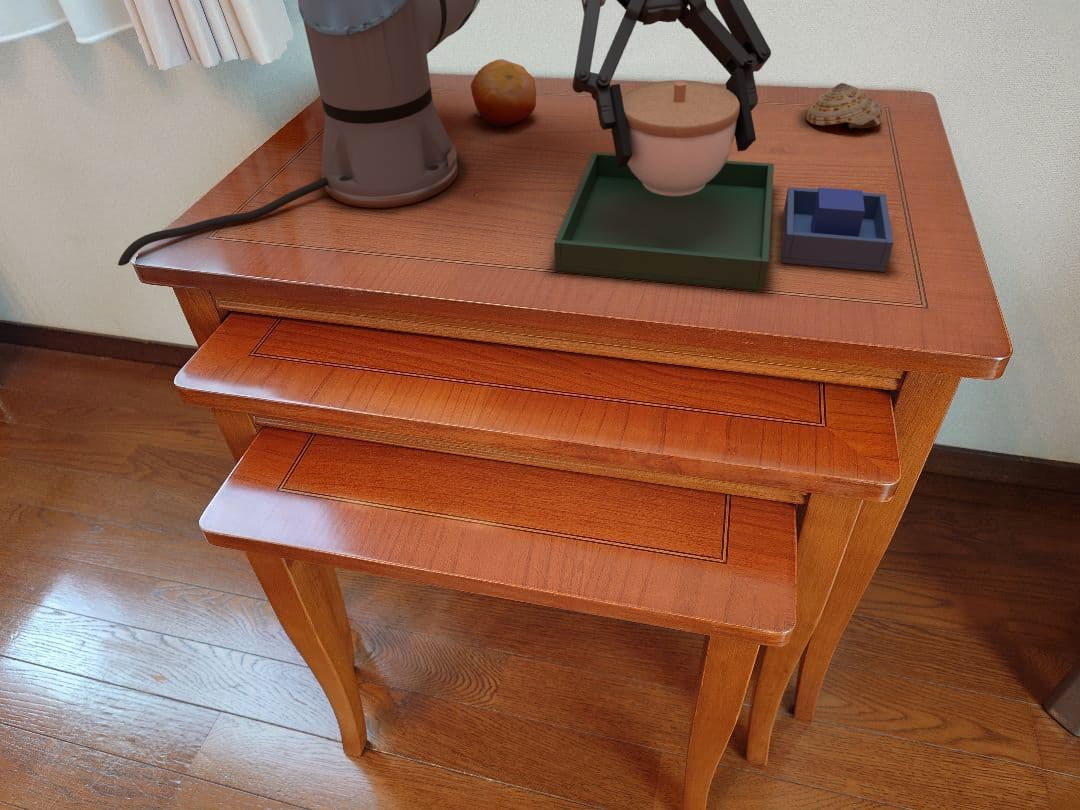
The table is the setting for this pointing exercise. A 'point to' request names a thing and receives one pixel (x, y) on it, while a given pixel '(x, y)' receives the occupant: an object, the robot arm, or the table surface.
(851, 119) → the seashell
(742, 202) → the green tray
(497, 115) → the fruit
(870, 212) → the blue tray
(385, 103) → the robot arm
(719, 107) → the trinket box
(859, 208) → the blue block
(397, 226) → the table surface
